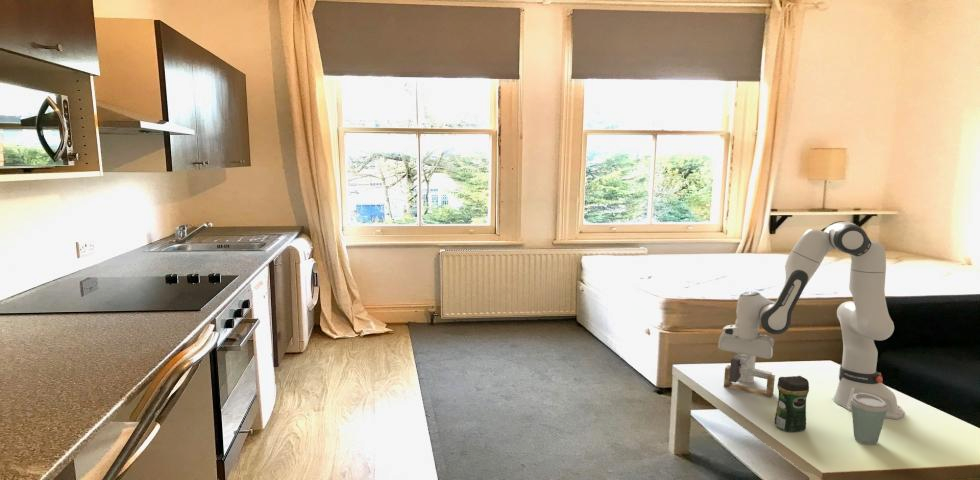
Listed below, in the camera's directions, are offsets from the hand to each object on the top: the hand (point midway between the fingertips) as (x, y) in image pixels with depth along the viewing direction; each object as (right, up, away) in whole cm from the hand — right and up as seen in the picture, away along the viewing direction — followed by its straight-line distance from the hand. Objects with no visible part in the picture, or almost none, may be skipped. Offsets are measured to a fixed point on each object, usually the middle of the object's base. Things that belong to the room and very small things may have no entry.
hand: (743, 364), depth 232 cm
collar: (-2, -7, +3) cm, 8 cm away
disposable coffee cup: (+23, -17, -41) cm, 49 cm away
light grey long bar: (+2, -4, -1) cm, 5 cm away
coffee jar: (+2, -16, -32) cm, 35 cm away
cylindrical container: (+6, -9, +12) cm, 16 cm away
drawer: (+2, -11, 0) cm, 11 cm away
